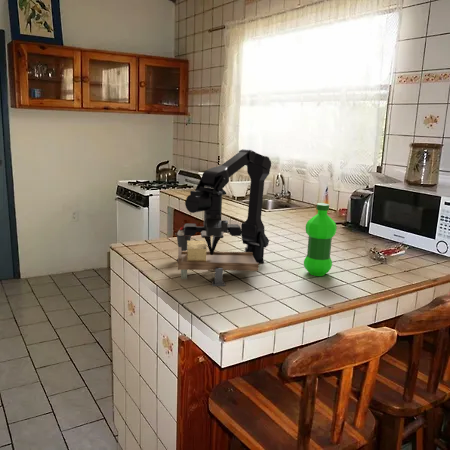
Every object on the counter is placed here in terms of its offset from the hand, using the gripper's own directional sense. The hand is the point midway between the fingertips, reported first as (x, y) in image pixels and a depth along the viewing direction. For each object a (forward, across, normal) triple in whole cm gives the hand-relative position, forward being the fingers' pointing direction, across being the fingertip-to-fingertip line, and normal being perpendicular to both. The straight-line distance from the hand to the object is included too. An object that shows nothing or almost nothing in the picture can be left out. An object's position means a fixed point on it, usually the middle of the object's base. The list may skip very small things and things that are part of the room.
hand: (211, 254), depth 153 cm
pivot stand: (+8, -3, 0) cm, 8 cm away
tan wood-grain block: (+2, -5, 0) cm, 5 cm away
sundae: (+8, -9, +18) cm, 22 cm away
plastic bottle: (+8, +38, +3) cm, 39 cm away
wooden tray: (+3, +2, 0) cm, 4 cm away
